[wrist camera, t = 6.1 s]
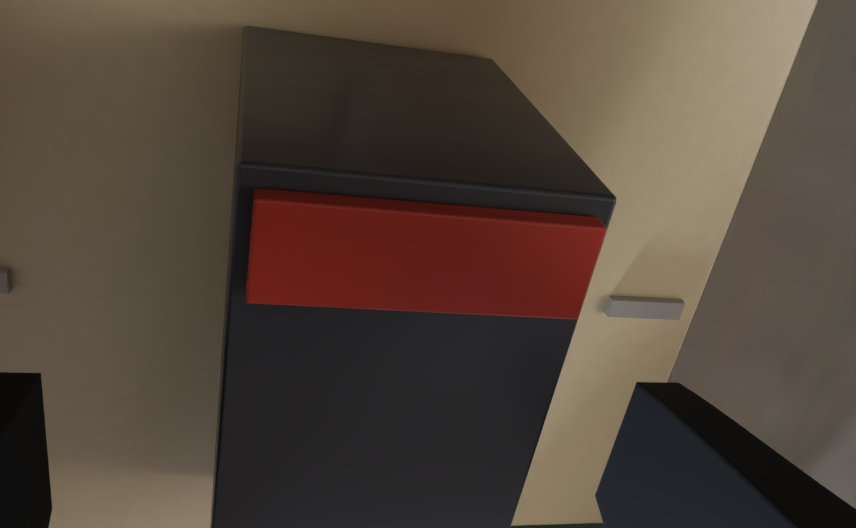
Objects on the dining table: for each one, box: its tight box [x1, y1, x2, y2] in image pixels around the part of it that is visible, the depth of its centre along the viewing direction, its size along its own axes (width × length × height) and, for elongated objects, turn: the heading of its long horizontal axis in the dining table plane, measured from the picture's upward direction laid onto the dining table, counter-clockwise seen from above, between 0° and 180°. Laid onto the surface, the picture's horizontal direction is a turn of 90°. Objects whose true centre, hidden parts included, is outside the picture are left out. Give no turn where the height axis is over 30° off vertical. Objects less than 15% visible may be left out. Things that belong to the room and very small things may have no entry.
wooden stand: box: [0, 0, 818, 528], centre depth 13 cm, size 13×12×3 cm
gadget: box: [210, 26, 616, 528], centre depth 10 cm, size 8×3×5 cm, turn 170°
